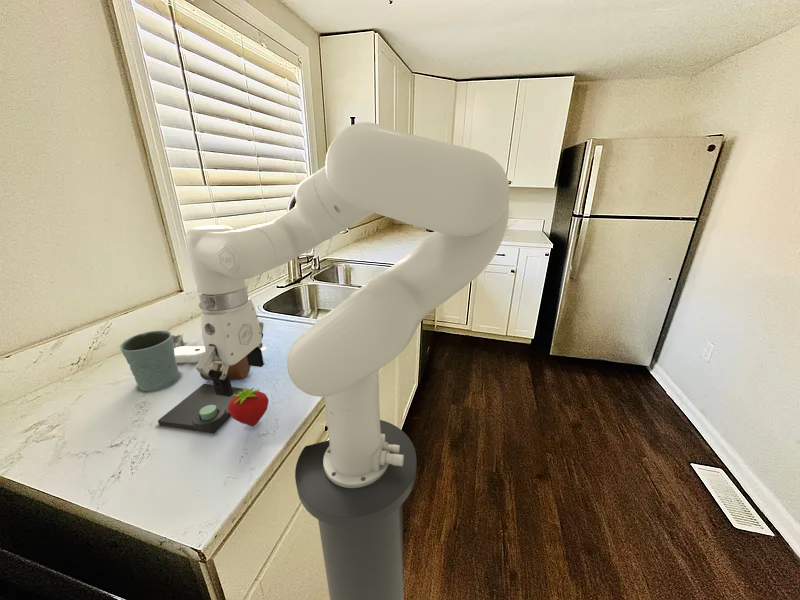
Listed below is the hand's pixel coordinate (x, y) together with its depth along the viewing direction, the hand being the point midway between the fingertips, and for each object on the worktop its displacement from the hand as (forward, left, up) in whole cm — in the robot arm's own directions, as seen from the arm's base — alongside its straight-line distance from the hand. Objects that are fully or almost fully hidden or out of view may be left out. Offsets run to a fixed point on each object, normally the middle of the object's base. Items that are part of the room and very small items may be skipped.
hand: (241, 379), depth 64 cm
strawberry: (0, 0, -12) cm, 12 cm away
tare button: (+8, +2, -9) cm, 12 cm away
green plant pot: (+33, -10, -12) cm, 36 cm away
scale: (+13, -3, -11) cm, 17 cm away
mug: (+12, -17, -9) cm, 23 cm away
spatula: (+26, -22, -12) cm, 36 cm away
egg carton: (+43, -24, -12) cm, 51 cm away
